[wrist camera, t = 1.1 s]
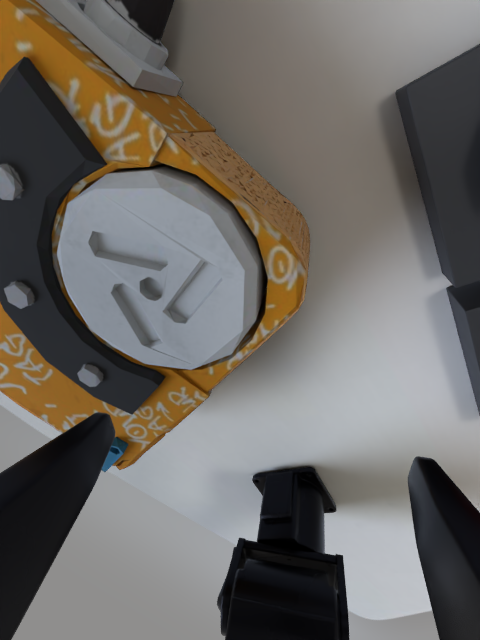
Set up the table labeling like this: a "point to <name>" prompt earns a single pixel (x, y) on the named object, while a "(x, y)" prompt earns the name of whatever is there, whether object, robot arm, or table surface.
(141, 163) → the device
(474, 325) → the panel
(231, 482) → the table surface
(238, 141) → the table surface
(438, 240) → the button block
